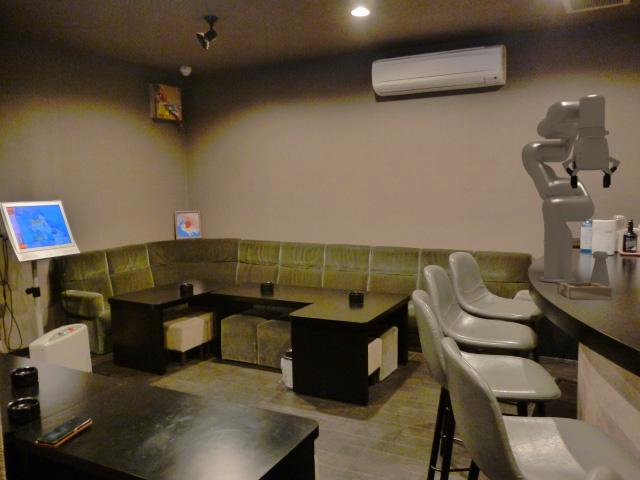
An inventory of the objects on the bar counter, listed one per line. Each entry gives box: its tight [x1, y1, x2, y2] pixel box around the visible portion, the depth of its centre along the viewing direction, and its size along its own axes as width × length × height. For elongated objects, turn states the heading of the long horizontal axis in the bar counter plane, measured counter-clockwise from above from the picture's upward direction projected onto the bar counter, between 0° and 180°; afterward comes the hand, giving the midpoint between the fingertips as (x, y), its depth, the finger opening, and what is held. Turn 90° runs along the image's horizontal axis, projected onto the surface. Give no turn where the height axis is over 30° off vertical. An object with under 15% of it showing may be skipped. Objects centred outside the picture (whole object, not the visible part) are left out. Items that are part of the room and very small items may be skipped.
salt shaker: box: [589, 250, 611, 287], centre depth 168 cm, size 6×6×13 cm
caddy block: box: [557, 281, 613, 301], centre depth 158 cm, size 12×11×4 cm
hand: (590, 188), depth 163 cm, fingers open, 9 cm apart
